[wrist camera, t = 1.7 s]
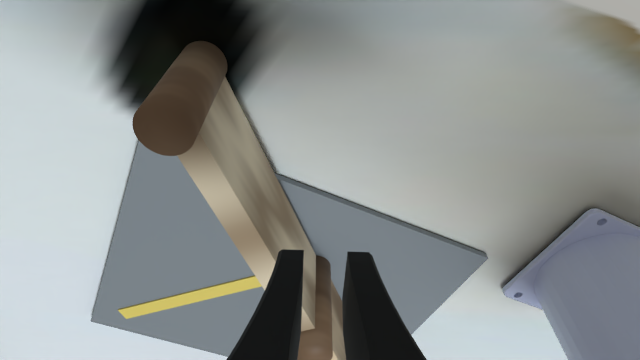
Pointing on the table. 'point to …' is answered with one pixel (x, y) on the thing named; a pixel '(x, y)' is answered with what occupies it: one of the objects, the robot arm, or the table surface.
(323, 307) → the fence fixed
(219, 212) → the wooden plank
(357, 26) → the table surface
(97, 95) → the table surface
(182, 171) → the board
